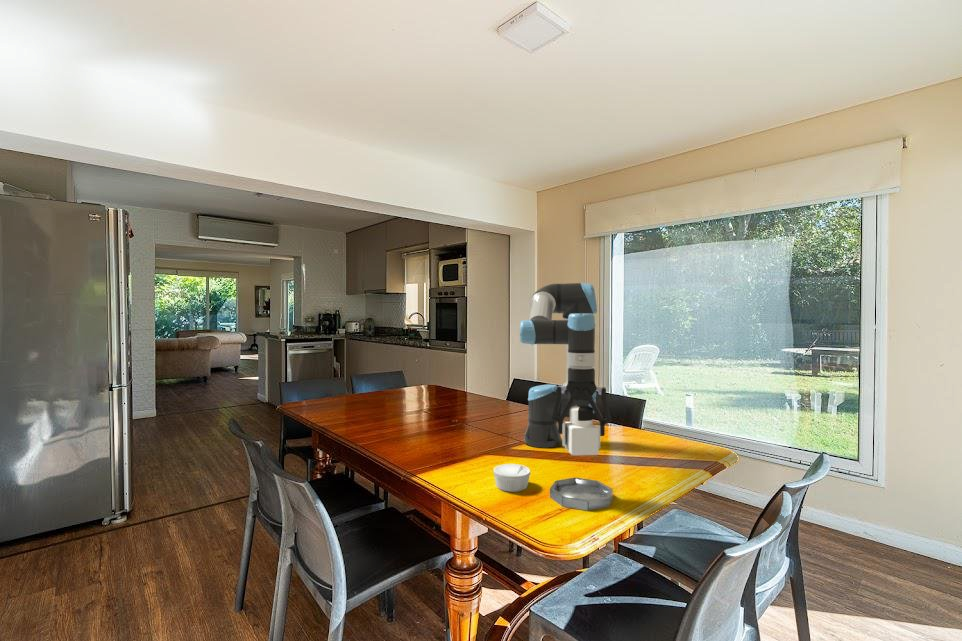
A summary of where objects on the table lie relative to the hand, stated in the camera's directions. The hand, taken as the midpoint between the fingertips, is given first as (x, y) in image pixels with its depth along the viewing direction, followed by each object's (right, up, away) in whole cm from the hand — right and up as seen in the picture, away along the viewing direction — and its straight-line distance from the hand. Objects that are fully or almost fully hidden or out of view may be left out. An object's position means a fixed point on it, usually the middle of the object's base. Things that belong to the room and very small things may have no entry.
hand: (581, 446), depth 129 cm
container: (0, -2, 0) cm, 2 cm away
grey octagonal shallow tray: (0, -15, 0) cm, 15 cm away
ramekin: (-19, -15, +9) cm, 26 cm away
